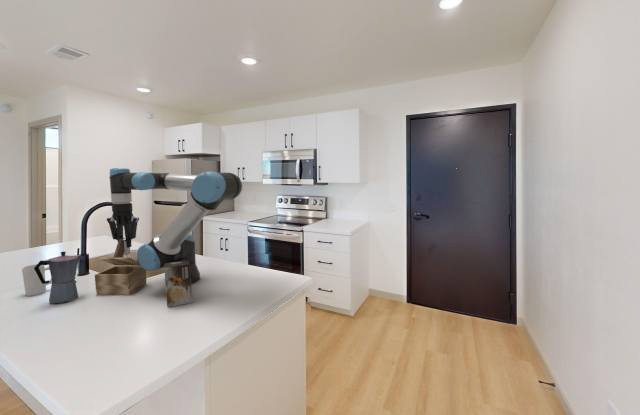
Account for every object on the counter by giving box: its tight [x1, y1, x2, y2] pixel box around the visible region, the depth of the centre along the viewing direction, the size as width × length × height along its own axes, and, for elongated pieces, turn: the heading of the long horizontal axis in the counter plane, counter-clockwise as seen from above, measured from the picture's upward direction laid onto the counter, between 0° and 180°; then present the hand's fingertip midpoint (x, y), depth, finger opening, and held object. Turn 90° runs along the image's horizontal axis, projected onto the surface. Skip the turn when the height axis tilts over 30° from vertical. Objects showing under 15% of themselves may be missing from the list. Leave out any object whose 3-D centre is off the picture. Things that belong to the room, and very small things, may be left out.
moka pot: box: [34, 251, 83, 304], centre depth 115 cm, size 10×15×20 cm, turn 161°
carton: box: [94, 265, 148, 296], centre depth 126 cm, size 15×12×9 cm
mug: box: [21, 263, 52, 297], centre depth 123 cm, size 10×7×12 cm, turn 139°
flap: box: [98, 239, 141, 266], centre depth 128 cm, size 12×11×9 cm
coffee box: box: [163, 261, 193, 308], centre depth 113 cm, size 9×6×16 cm
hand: (125, 254), depth 129 cm, fingers closed on flap
